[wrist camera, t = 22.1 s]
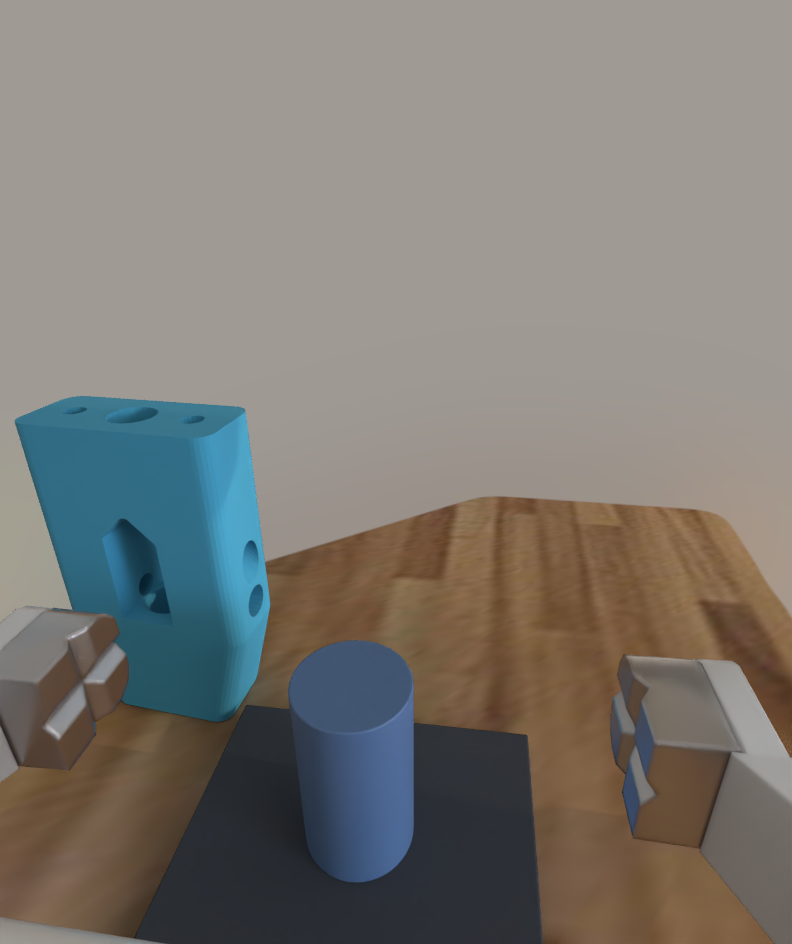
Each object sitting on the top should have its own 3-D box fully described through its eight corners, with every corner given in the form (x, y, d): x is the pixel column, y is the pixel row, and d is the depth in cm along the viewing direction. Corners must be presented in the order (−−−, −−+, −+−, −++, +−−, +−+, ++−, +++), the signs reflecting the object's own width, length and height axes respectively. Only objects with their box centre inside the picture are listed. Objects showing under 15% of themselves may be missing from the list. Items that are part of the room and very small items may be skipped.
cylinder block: (419, 784, 32) (419, 644, 28) (406, 891, 27) (404, 741, 23) (321, 772, 33) (308, 634, 29) (292, 874, 28) (270, 726, 24)
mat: (526, 745, 36) (527, 734, 35) (546, 1041, 23) (549, 1029, 23) (248, 715, 38) (246, 704, 38) (129, 967, 26) (125, 955, 25)
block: (92, 697, 40) (5, 422, 31) (137, 647, 44) (72, 395, 36) (252, 729, 37) (205, 439, 29) (284, 673, 41) (251, 407, 33)
